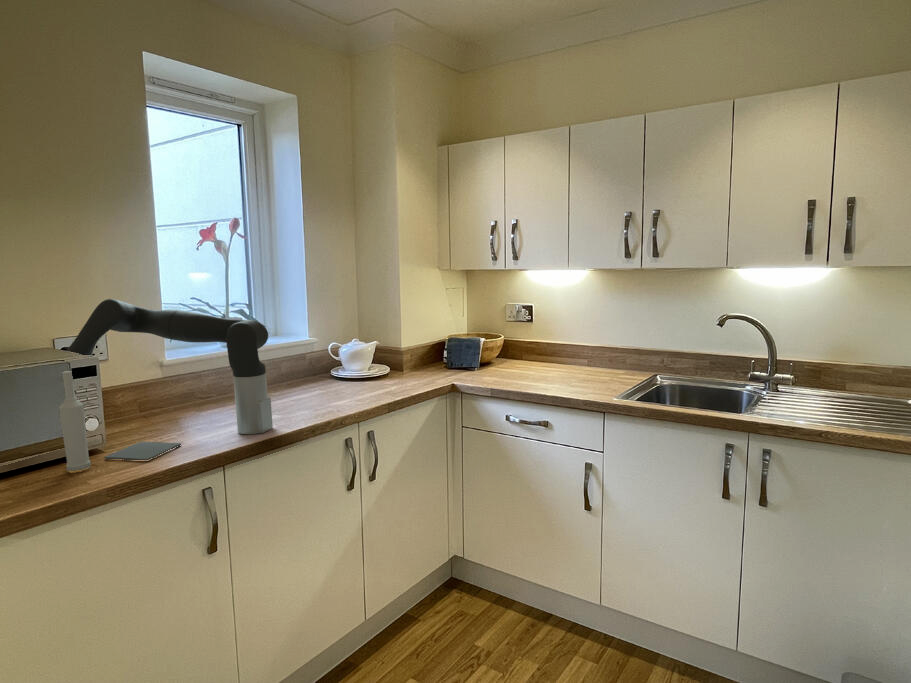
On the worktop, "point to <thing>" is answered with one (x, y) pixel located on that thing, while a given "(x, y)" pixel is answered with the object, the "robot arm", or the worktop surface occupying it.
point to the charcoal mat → (142, 451)
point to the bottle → (73, 427)
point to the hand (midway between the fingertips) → (64, 411)
